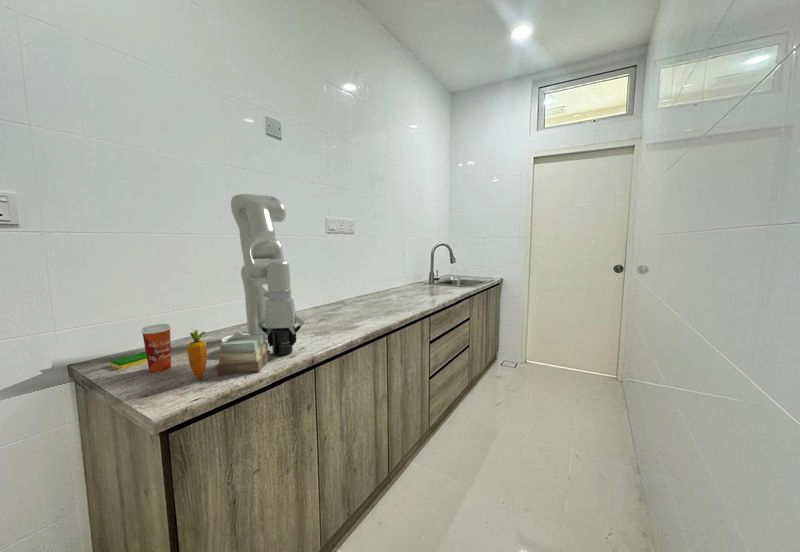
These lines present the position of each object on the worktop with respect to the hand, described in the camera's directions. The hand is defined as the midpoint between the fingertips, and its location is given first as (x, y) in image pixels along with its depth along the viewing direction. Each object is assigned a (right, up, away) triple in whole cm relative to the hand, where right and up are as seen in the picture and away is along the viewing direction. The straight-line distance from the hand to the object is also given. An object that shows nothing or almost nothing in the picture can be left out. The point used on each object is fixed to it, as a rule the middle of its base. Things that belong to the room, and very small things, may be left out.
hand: (282, 344), depth 116 cm
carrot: (-16, -6, -21) cm, 28 cm away
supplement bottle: (0, -3, 0) cm, 3 cm away
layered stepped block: (-8, -5, -12) cm, 15 cm away
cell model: (-18, -4, +4) cm, 19 cm away
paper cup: (-35, -6, -12) cm, 37 cm away
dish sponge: (-48, -6, -4) cm, 48 cm away
